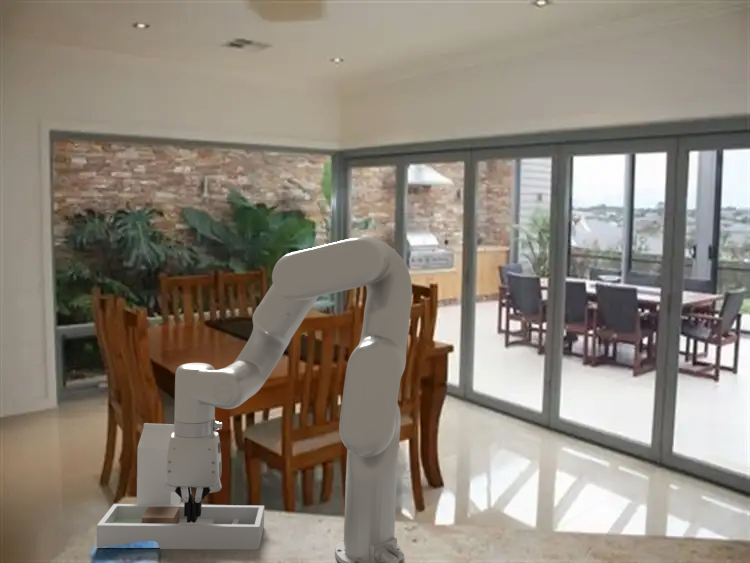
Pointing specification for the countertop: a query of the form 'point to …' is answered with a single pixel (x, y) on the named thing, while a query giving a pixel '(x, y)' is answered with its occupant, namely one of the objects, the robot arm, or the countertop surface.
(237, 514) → the box
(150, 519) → the block
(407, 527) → the countertop surface
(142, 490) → the milk carton
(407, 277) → the robot arm
